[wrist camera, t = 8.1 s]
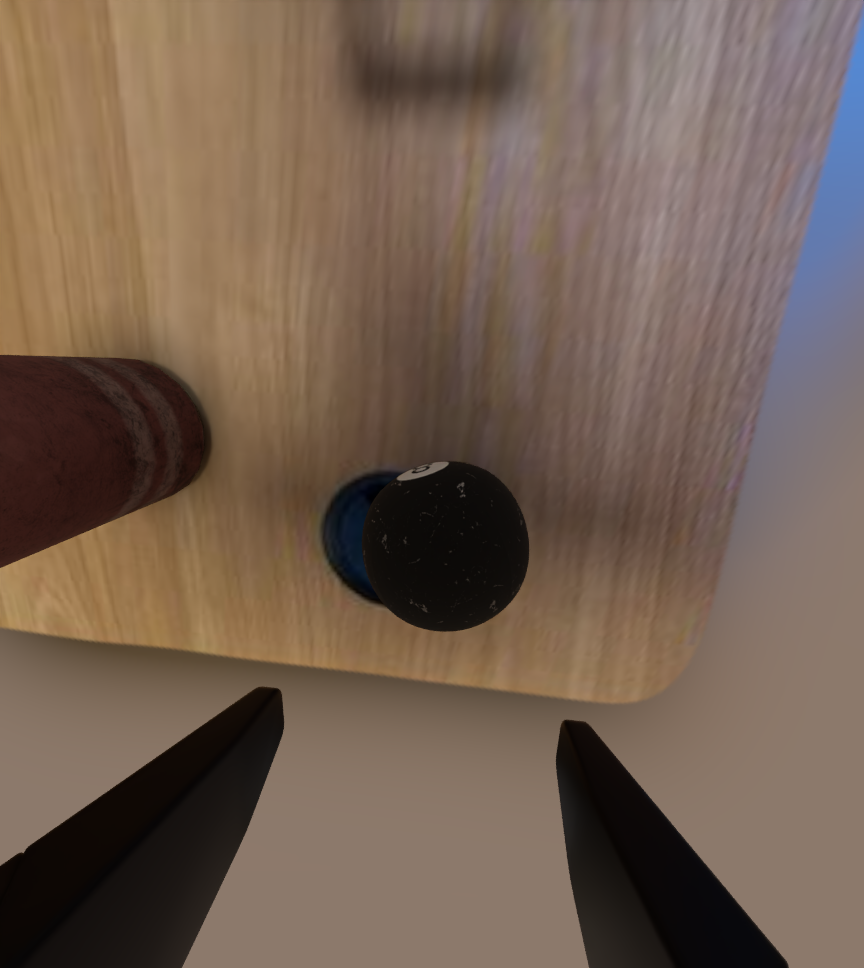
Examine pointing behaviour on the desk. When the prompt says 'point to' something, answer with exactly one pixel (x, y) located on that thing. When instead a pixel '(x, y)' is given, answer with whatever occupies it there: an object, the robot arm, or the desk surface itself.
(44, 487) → the can
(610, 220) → the desk surface
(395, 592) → the billiard ball
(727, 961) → the robot arm
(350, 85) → the desk surface
